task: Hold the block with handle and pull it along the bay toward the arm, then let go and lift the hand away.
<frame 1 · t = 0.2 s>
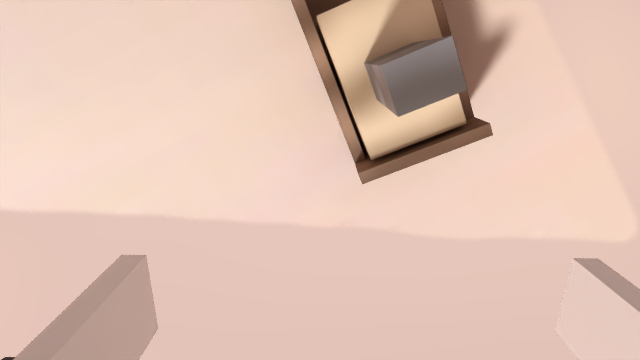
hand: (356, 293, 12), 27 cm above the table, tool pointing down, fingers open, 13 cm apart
block with handle: (398, 72, 27), point 9 cm above the table, slide at 0.0 cm
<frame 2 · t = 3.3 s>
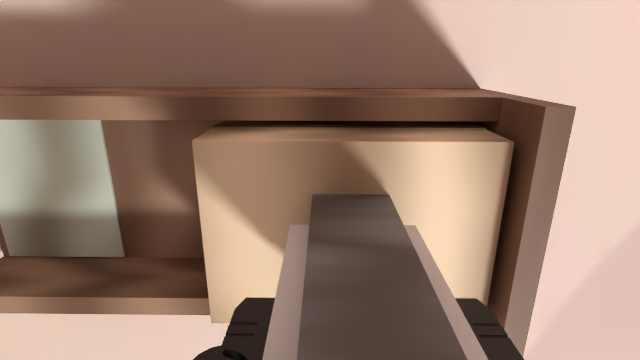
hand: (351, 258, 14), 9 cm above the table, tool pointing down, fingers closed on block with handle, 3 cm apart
bay: (229, 183, 22), on the table
block with handle: (351, 259, 14), point 9 cm above the table, slide at 0.0 cm, touching gripper
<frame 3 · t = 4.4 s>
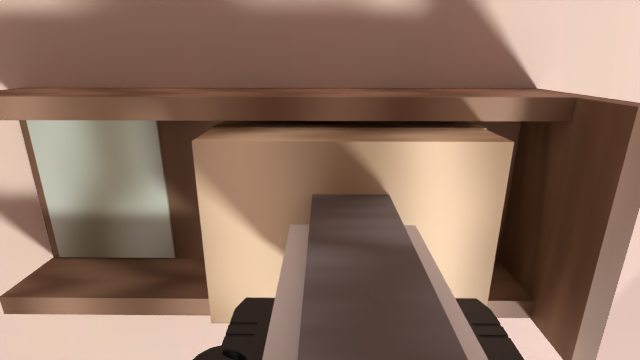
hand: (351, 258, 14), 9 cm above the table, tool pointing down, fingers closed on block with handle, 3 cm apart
bay: (281, 184, 22), on the table
block with handle: (352, 259, 14), point 9 cm above the table, slide at 3.1 cm, touching gripper
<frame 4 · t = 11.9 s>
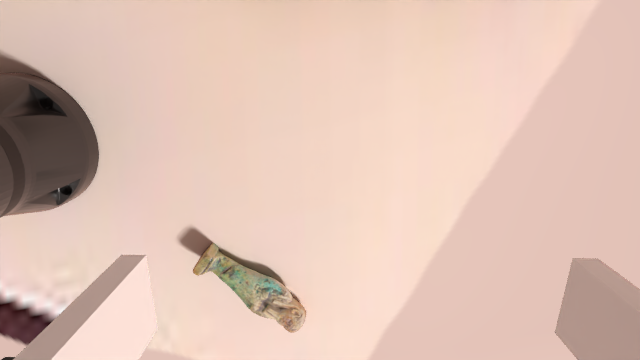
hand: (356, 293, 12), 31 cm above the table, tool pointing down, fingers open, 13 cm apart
figurine: (255, 280, 48), on the table
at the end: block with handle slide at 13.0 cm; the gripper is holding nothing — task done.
